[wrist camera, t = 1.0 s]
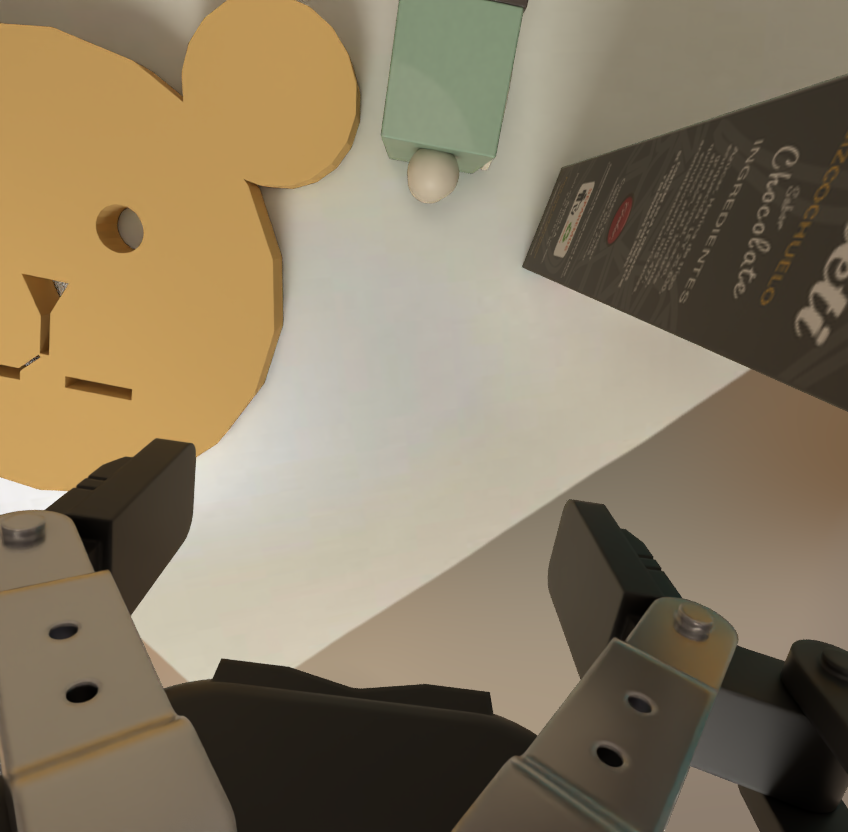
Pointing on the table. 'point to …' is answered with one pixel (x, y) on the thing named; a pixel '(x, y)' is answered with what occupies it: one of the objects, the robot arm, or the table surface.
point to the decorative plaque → (151, 229)
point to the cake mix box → (721, 235)
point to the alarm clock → (449, 88)
